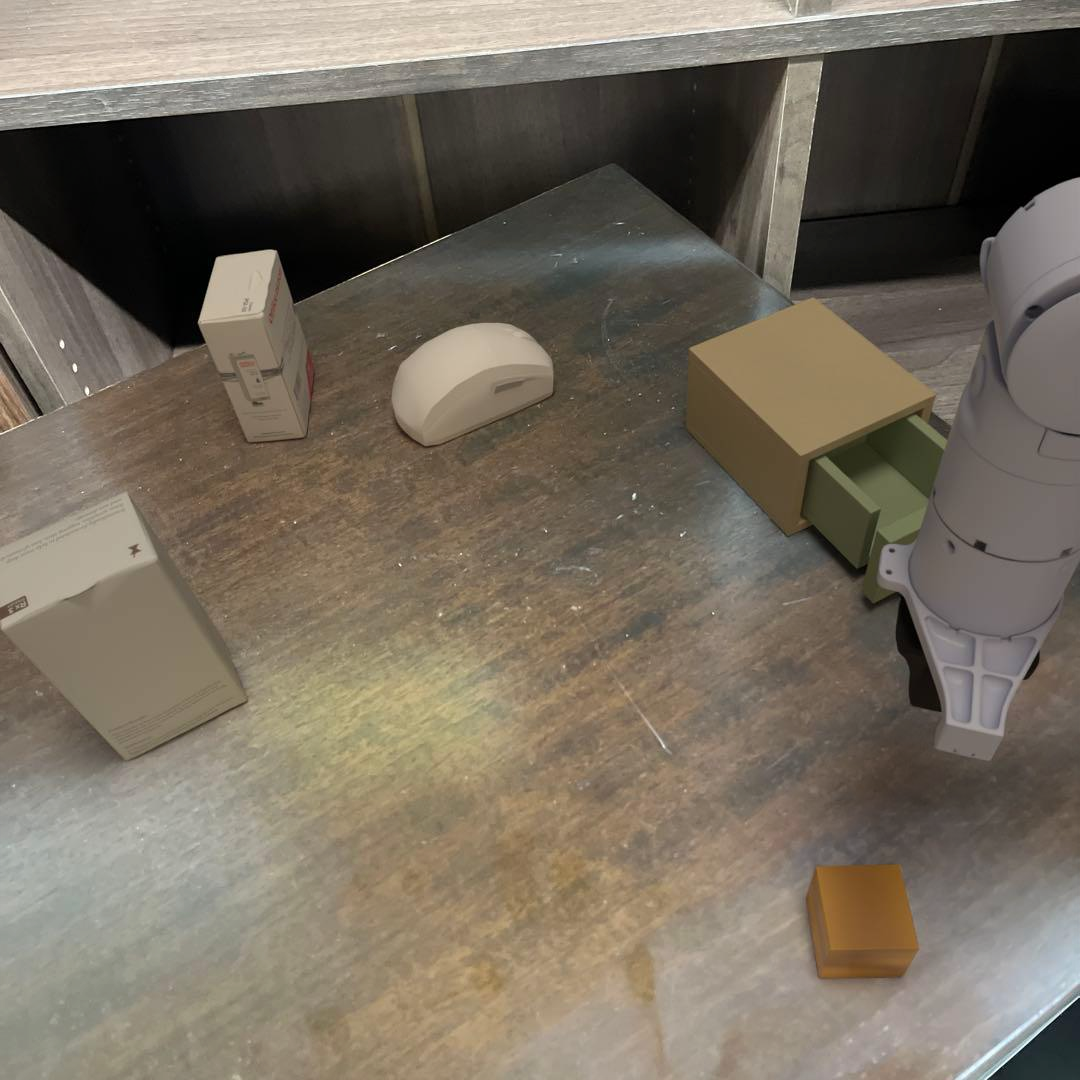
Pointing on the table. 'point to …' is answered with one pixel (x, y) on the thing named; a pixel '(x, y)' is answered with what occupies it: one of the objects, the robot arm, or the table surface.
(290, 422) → the ink box
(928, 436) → the drawer
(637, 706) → the table surface
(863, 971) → the block
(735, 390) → the cabinet
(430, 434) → the computer mouse
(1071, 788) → the table surface
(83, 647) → the cosmetic box
